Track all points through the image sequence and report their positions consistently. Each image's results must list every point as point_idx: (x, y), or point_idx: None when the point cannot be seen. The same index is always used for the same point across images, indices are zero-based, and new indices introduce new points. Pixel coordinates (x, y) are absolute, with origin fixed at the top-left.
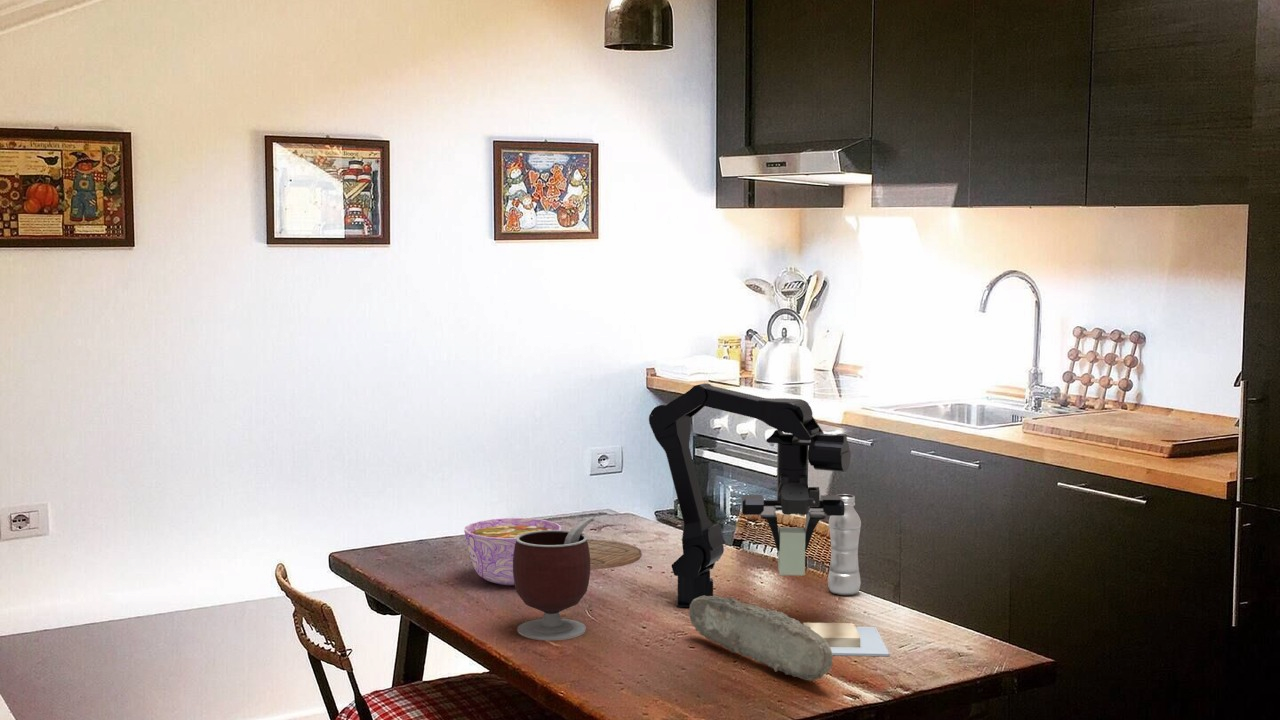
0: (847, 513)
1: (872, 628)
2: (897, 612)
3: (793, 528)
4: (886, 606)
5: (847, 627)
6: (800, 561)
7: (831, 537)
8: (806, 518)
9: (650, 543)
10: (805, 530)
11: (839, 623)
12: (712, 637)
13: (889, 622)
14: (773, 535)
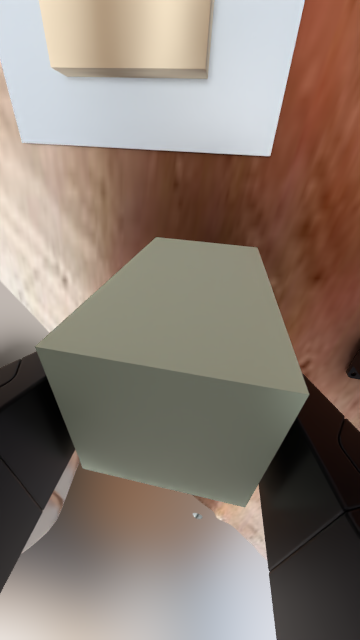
0: None
1: (26, 123)
2: (11, 273)
3: (144, 465)
4: (35, 308)
5: None
6: (159, 257)
7: (70, 466)
8: (9, 542)
9: None
10: (64, 424)
11: (91, 62)
12: None
13: (10, 205)
14: (336, 408)
